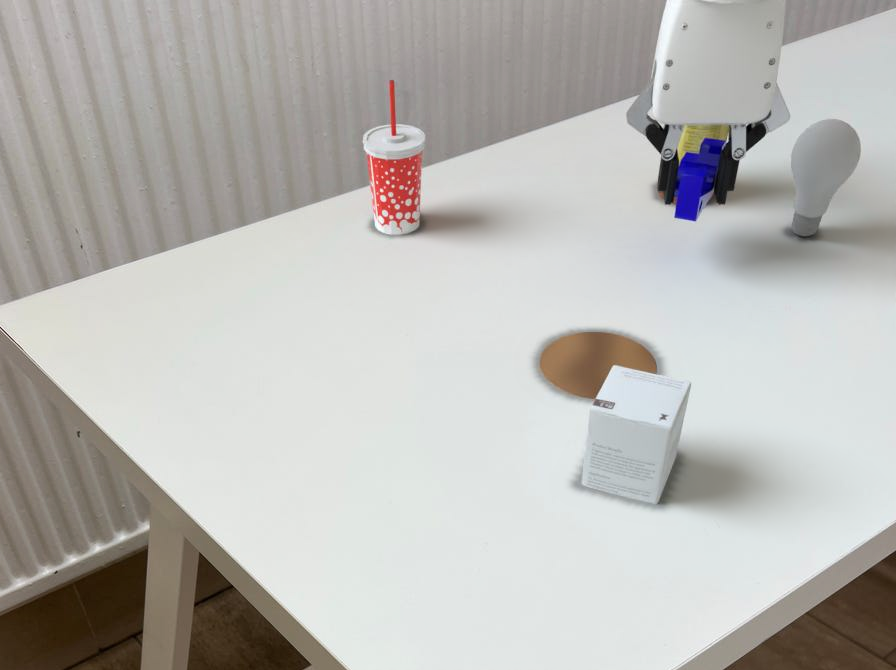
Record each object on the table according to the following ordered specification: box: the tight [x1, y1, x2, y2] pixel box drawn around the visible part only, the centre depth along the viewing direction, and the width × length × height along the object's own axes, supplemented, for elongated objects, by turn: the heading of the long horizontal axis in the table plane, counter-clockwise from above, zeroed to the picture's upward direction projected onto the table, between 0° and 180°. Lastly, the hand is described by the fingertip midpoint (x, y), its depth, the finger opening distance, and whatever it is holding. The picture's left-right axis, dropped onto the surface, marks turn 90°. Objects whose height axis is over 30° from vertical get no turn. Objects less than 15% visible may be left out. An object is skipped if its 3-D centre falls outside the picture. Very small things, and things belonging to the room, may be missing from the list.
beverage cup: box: [362, 79, 426, 236], centre depth 96 cm, size 6×6×14 cm
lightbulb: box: [790, 118, 862, 237], centre depth 93 cm, size 6×6×11 cm
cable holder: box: [673, 138, 727, 222], centre depth 89 cm, size 8×4×4 cm, turn 154°
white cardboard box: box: [581, 365, 692, 505], centre depth 72 cm, size 6×6×7 cm
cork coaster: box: [538, 331, 657, 400], centre depth 84 cm, size 10×10×1 cm
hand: (693, 195), depth 90 cm, fingers closed on cable holder, 4 cm apart
